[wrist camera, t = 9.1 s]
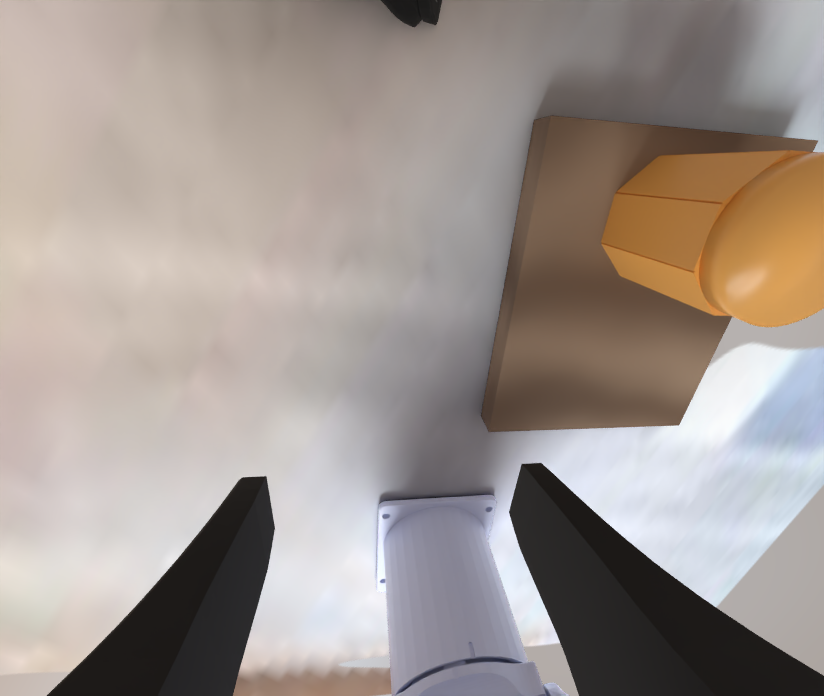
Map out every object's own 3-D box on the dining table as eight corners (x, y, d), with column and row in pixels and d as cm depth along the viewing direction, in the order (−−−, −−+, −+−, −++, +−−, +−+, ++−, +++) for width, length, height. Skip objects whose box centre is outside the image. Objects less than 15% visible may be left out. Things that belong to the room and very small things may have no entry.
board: (660, 410, 23) (740, 475, 18) (480, 415, 21) (515, 488, 17) (781, 142, 16) (958, 132, 12) (533, 120, 15) (618, 97, 10)
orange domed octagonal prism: (687, 278, 17) (832, 327, 12) (591, 275, 17) (699, 326, 11) (734, 161, 15) (939, 157, 10) (626, 152, 14) (782, 144, 9)
